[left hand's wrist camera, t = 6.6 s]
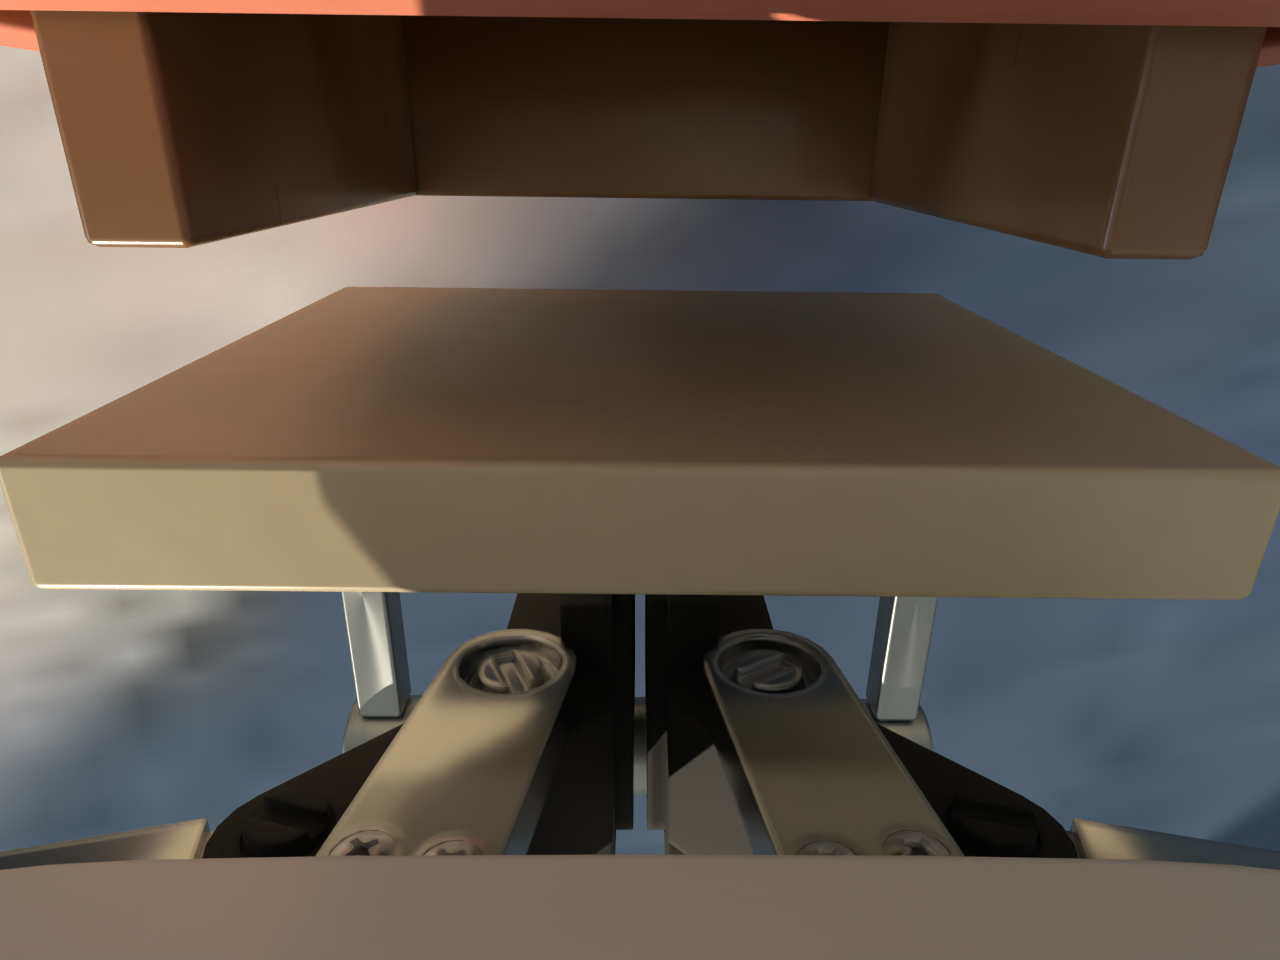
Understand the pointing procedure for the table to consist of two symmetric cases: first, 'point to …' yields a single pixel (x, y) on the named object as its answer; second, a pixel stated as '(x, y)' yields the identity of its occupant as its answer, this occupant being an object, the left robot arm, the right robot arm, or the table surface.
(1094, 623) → the table surface
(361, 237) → the table surface
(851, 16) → the cabinet
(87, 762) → the table surface
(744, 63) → the drawer
